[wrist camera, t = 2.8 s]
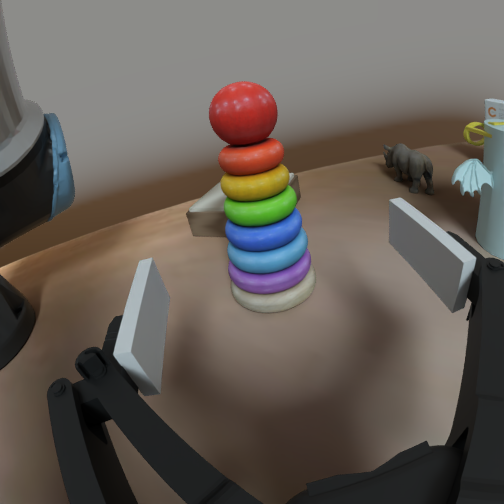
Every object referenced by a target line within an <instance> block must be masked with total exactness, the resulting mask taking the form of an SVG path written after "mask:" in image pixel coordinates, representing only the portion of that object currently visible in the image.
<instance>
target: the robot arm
mask: <svg viewBox="0 0 504 504" xmlns="http://www.w3.org/2000/svg"><path fill="white" fill-rule="evenodd" d="M74 197H75V187H74V181H73V175H72V170H71V166H70V161H69V158H68V156H67V150H66V144H65V140H64V136H63V132H62V129H61V126H60V122H59V120H58V118H57V116H56V115H55V114H54V113H50V114H43V112H42V109H41V108H40V106H39V105H38V104H37V103H35V102H33V101H30V100H24V99H23V96H22V92H21V89H20V86H19V82H18V79H17V75H16V71H15V67H14V64H13V60H12V55H11V51H10V47H9V42H8V37H7V32H6V27H5V22H4V16H3V10H2V3H1V0H0V248H1V247H3V246H4V245H6V244H8V243H10V242H11V241H13V240H15V239H17V238H18V237H20V236H22V235H24V234H26V233H27V232H29V231H31V230H33V229H35V228H36V227H38V226H40V225H42V224H44V223H46V222H48V221H51V220H52V219H53V217H55V216H56V215H58V214H60V213H61V212H63V211H64V210H66V209H68V208H69V207H70V206H71V204H72V203H73V201H74ZM389 243H390V244H391V245H392V246H393V247H394V248H395V249H396V250H397V251H398V252H399V254H400V255H401V256H402V257H403V258H404V259H405V260H406V261H407V262H408V263H409V264H410V265H411V266H412V267H413V269H414V270H415V271H416V272H417V273H418V274H419V275H420V276H421V277H422V279H423V280H424V281H425V282H426V283H427V284H428V285H429V286H430V288H431V289H432V290H433V291H434V292H435V293H436V294H437V296H438V297H439V298H440V299H441V300H442V301H443V303H444V304H445V305H446V306H447V307H448V309H449V310H450V311H451V312H452V313H454V312H456V311H458V310H460V309H463V308H464V307H465V303H466V300H467V298H468V299H469V300H470V301H471V302H472V303H471V306H470V310H469V313H468V316H467V319H466V320H467V321H468V320H469V328H468V338H467V347H466V356H465V363H464V370H463V376H462V382H461V388H460V393H459V398H458V403H457V408H456V413H455V417H454V421H453V426H452V429H451V433H450V435H449V438H448V440H447V442H446V444H445V446H444V445H437V446H429V444H428V442H427V441H425V442H423V443H421V444H418V445H416V446H414V447H412V448H409V449H407V450H405V451H403V452H400V453H399V454H397V455H396V456H394V457H393V458H392V459H390V460H389V461H387V462H386V463H384V464H383V465H381V466H380V467H378V468H377V469H375V470H374V471H371V472H364V473H355V474H344V475H336V476H333V477H329V478H326V479H322V480H318V481H315V482H311V483H307V484H306V485H307V489H308V490H307V489H306V490H304V491H302V492H300V493H299V494H297V495H296V496H294V497H293V498H292V499H290V500H289V501H288V502H287V503H286V504H504V263H503V262H502V261H500V260H498V259H495V258H486V259H485V258H484V257H483V256H482V255H481V254H480V253H478V252H477V251H476V250H475V249H474V248H473V247H471V246H469V244H468V243H467V242H465V241H464V240H463V239H462V238H460V237H459V236H458V235H456V234H454V233H452V232H449V231H448V232H445V231H444V230H442V229H441V228H440V227H439V226H437V225H436V224H435V223H434V222H432V221H431V220H430V219H429V218H427V217H426V216H425V215H423V214H422V213H421V212H419V211H418V210H417V209H415V208H414V207H413V206H411V205H410V204H409V203H407V202H406V201H405V200H403V199H402V198H396V199H391V200H389ZM169 302H170V297H169V294H168V292H167V290H166V288H165V285H164V283H163V281H162V279H161V276H160V274H159V272H158V269H157V267H156V265H155V262H154V260H153V258H149V259H145V260H141V261H139V264H138V267H137V270H136V274H135V277H134V280H133V283H132V287H131V290H130V293H129V297H128V300H127V304H126V307H125V311H124V314H123V315H121V316H116V317H115V318H114V319H113V320H112V322H111V323H110V324H109V327H108V331H107V335H106V337H105V341H104V344H103V348H102V350H101V349H100V348H98V347H91V348H88V349H86V350H84V351H83V352H82V353H81V354H80V355H79V356H78V357H77V359H76V362H75V367H76V370H77V371H78V372H79V373H80V374H81V376H82V377H83V378H84V379H83V380H81V381H79V382H76V383H74V384H72V383H71V382H70V381H69V380H68V379H66V378H61V379H58V380H56V381H55V382H53V383H52V384H51V386H50V387H49V389H48V392H47V399H48V407H49V414H50V420H51V426H52V432H53V437H54V442H55V447H56V452H57V457H58V461H59V465H60V470H61V473H62V477H63V481H64V485H65V488H66V492H67V495H68V499H69V502H70V504H138V502H137V500H136V498H135V496H134V494H133V492H132V490H131V488H130V485H129V483H128V481H127V479H126V476H125V474H124V472H123V469H122V467H121V464H120V462H119V460H118V457H117V455H116V452H115V449H114V447H113V444H112V441H111V439H110V436H109V433H108V430H107V427H106V425H105V422H106V421H108V420H111V419H113V420H114V422H115V423H116V424H117V426H118V427H119V428H120V429H121V431H122V432H123V433H124V435H125V436H126V437H127V438H128V440H129V441H130V442H131V443H132V444H133V446H134V447H135V448H136V449H137V451H138V452H139V453H140V454H141V455H142V456H143V458H144V459H145V460H146V461H147V462H148V463H149V464H150V466H151V467H152V468H153V469H154V470H155V471H156V472H157V473H158V474H159V475H160V477H161V478H162V479H163V480H164V481H165V482H166V483H167V484H168V485H169V486H170V487H171V488H172V489H173V490H174V491H175V492H176V493H177V494H178V495H179V496H180V497H181V498H182V499H183V500H184V501H185V502H186V503H187V504H263V503H261V502H260V501H259V500H257V499H256V498H254V497H253V496H252V495H250V494H249V493H248V492H246V491H245V490H244V489H242V488H241V487H240V486H238V485H237V484H236V483H234V482H233V481H231V480H230V479H228V478H227V477H225V476H224V475H223V474H222V473H220V472H219V471H218V470H217V469H216V468H214V467H213V466H212V465H211V464H210V463H208V462H207V461H206V460H205V459H204V458H203V457H201V456H200V455H199V454H198V453H197V452H196V451H195V450H194V449H192V448H191V447H190V446H189V445H188V444H187V443H186V442H185V441H184V440H183V439H182V438H181V437H179V436H178V435H177V434H176V433H175V432H174V431H173V430H172V429H171V428H170V427H169V426H168V425H167V424H166V423H165V422H164V421H163V420H162V419H161V418H160V417H159V416H158V415H157V414H156V413H155V412H154V411H153V410H152V409H151V408H150V407H149V406H148V404H147V403H146V402H145V401H144V400H143V399H142V398H141V397H140V396H139V395H138V389H139V390H140V391H141V393H142V394H143V395H144V396H149V395H157V394H160V393H161V380H162V368H163V357H164V346H165V337H166V327H167V319H168V310H169ZM34 321H35V312H34V310H33V308H32V306H31V305H30V303H29V302H28V300H27V299H26V297H25V296H24V295H23V294H22V293H20V292H19V291H18V290H17V289H16V288H15V287H14V286H12V285H11V284H10V283H9V282H8V281H7V280H6V279H5V278H4V277H3V276H1V275H0V369H1V368H2V367H4V366H5V365H6V364H7V363H8V362H9V361H10V360H11V359H12V358H13V357H14V356H15V355H16V354H17V352H18V351H19V350H20V349H21V347H22V346H23V344H24V343H25V341H26V340H27V338H28V336H29V334H30V332H31V330H32V328H33V325H34Z"/></svg>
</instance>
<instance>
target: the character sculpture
mask: <svg viewBox="0 0 504 504" xmlns="http://www.w3.org/2000/svg"><path fill="white" fill-rule="evenodd" d="M477 125H481V126H482V127H483V128H484V131H483V130H480V129H477V128H473V127H474V126H477ZM470 131H472V132H475V133H478V134H481V135H484V137H483V139H482V140H480V141H478V142H472V141H471V139H470V137H469V133H470ZM464 138H465V140H466V141H467V142H468V143H470V144H473V145H476V146H480V145H483V144H484V159H483V164H482V162H481V161H479V160H478V159H469V160H466V161H465V162H464V163H463V164H461V165H459V166H458V167H457V169H456V170H455V171H454V174H453V176H452V184H454V183H455V181H456V180H459V181H460V184H461V185H460V192H461V194H462V195H464V193H465V191H468V192H469V194H470V195H471V196H472V197H474V193H473V191H474V190H477V192H478V193H479V194H480V195H481V197H480V206H479V214H478V221H477V228H476V234H475V236H476V239H477V241H478V243H479V244H480V245H481V246H482V247H483V249H485V250H486V251H488V252H489V253H490V254H492V255H494V256H496V257H498V258H501V259H503V260H504V120H502V119H487V120H485V121H484V124H482V123H479V122H473V123H470V124H469V125H467V126H466V127H465V129H464Z"/></svg>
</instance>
